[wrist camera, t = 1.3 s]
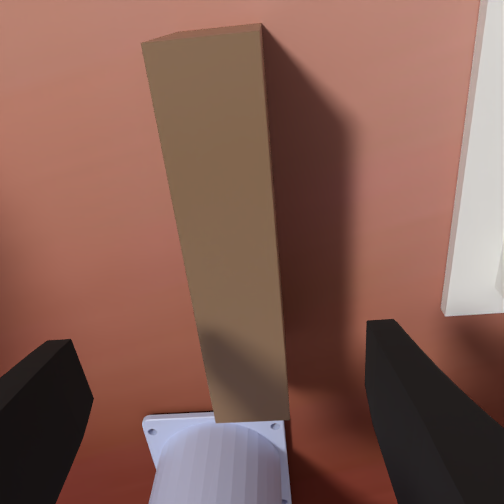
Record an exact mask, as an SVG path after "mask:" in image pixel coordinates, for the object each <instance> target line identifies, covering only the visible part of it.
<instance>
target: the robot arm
mask: <svg viewBox="0 0 504 504" xmlns="http://www.w3.org/2000/svg"><path fill="white" fill-rule="evenodd" d="M365 388H366V393H367V398H368V403H369V408H370V413H371V418H372V423H373V427H374V430H375V433H376V436H377V439H378V443H379V446H380V449H381V452H382V455H383V458H384V461H385V465H386V468H387V471H388V474H389V477H390V480H391V483H392V486H393V489H394V492H395V496H396V499H397V502H398V504H504V428H503V427H502V426H501V425H499V424H498V423H497V422H496V421H495V420H494V419H492V418H491V417H490V416H489V415H488V414H487V413H486V412H485V411H483V410H482V409H481V408H480V407H479V406H478V405H477V404H476V403H474V402H473V401H472V400H471V399H470V398H469V397H468V396H467V395H466V394H465V393H464V392H463V391H462V390H461V389H460V388H458V387H457V386H456V385H455V384H454V383H453V382H452V381H451V380H450V379H449V378H448V377H447V376H446V375H445V374H444V373H443V372H442V371H441V370H440V369H439V368H438V367H437V366H436V365H435V364H434V362H433V361H432V360H431V359H430V358H429V357H428V356H427V355H426V354H425V353H424V352H423V351H422V350H421V349H420V348H419V346H418V345H417V344H416V343H415V342H414V341H413V340H412V339H411V338H410V336H409V335H408V334H407V333H406V332H405V331H404V330H403V328H402V327H401V326H400V325H399V324H398V323H397V322H396V321H395V320H394V319H386V320H370V321H367V330H366V363H365ZM93 400H94V398H93V395H92V393H91V390H90V387H89V385H88V382H87V379H86V377H85V374H84V372H83V369H82V366H81V364H80V361H79V359H78V356H77V353H76V351H75V348H74V345H73V343H72V340H71V339H65V340H49V341H46V342H45V343H43V344H42V345H41V346H39V347H38V348H37V349H35V350H34V351H33V352H32V353H30V354H29V355H28V356H26V357H25V358H24V359H23V360H22V361H20V362H19V363H18V364H17V365H15V366H14V367H13V368H12V369H11V370H9V371H8V372H7V373H6V374H4V375H3V376H2V377H1V378H0V504H55V503H56V501H57V499H58V496H59V494H60V492H61V489H62V487H63V485H64V482H65V480H66V478H67V475H68V473H69V471H70V468H71V466H72V463H73V461H74V459H75V456H76V454H77V451H78V449H79V446H80V444H81V442H82V439H83V436H84V433H85V429H86V426H87V422H88V419H89V415H90V411H91V407H92V403H93ZM274 423H276V424H274ZM142 427H143V430H144V433H145V436H146V439H147V442H148V446H149V449H150V452H151V455H152V458H153V461H154V464H155V467H156V470H157V471H156V475H155V479H154V483H153V487H152V492H151V496H150V500H149V504H292V501H291V490H290V480H289V470H288V459H287V449H286V438H285V428H284V420H282V421H259V422H236V423H216V422H215V417H214V412H201V413H181V414H160V415H148V416H146V417H144V419H143V422H142Z"/></svg>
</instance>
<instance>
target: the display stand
mask: <svg viewBox="0 0 504 504" xmlns="http://www.w3.org/2000/svg"><path fill="white" fill-rule="evenodd" d="M441 310H442V312H443V314H444V315H445V316H459V315H476V314H492V313H504V0H480V8H479V15H478V23H477V31H476V39H475V46H474V54H473V62H472V70H471V78H470V85H469V93H468V101H467V109H466V116H465V124H464V132H463V140H462V147H461V155H460V163H459V171H458V178H457V186H456V194H455V202H454V209H453V217H452V225H451V233H450V240H449V248H448V256H447V264H446V272H445V279H444V287H443V295H442V303H441Z"/></svg>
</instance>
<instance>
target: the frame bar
mask: <svg viewBox="0 0 504 504" xmlns="http://www.w3.org/2000/svg"><path fill="white" fill-rule="evenodd" d="M141 46H142V51H143V57H144V62H145V67H146V72H147V77H148V82H149V87H150V92H151V97H152V102H153V107H154V112H155V118H156V123H157V128H158V133H159V138H160V143H161V148H162V153H163V158H164V163H165V168H166V173H167V179H168V184H169V189H170V194H171V199H172V204H173V209H174V214H175V219H176V224H177V229H178V234H179V240H180V245H181V250H182V255H183V260H184V265H185V270H186V275H187V280H188V285H189V290H190V295H191V300H192V306H193V311H194V316H195V321H196V326H197V331H198V336H199V341H200V346H201V351H202V356H203V361H204V367H205V372H206V377H207V382H208V387H209V392H210V397H211V402H212V407H213V412H214V417H215V422H216V423H236V422H259V421H282V420H290V412H289V395H288V378H287V361H286V343H285V328H284V315H283V302H282V288H281V275H280V262H279V249H278V236H277V223H276V209H275V196H274V183H273V170H272V157H271V144H270V130H269V117H268V104H267V91H266V78H265V64H264V51H263V38H262V25H261V23H257V24H248V25H238V26H229V27H220V28H210V29H201V30H192V31H182V32H176V33H173V34H169V35H166V36H163V37H159V38H156V39H153V40H149V41H146V42H143V43H141Z"/></svg>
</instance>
